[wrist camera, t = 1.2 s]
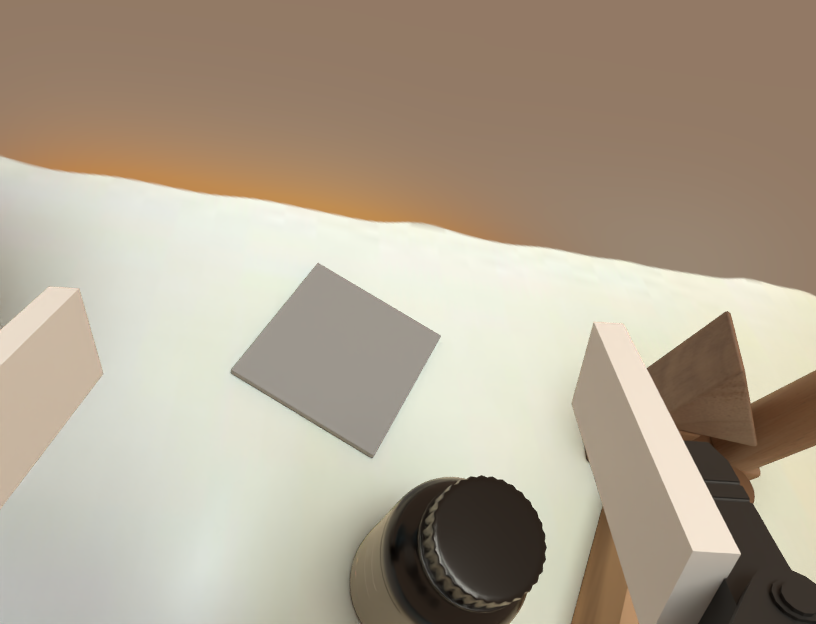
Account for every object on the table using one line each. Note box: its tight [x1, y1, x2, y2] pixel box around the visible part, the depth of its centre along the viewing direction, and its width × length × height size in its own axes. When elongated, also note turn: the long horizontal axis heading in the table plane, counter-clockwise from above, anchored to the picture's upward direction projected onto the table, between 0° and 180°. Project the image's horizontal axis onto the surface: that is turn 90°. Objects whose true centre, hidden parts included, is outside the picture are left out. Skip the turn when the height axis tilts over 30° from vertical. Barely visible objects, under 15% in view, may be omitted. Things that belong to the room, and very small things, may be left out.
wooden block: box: [587, 311, 816, 480], centre depth 34 cm, size 4×11×18 cm, turn 83°
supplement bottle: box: [350, 475, 547, 624], centre depth 27 cm, size 7×7×12 cm
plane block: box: [571, 466, 755, 624], centre depth 32 cm, size 6×12×8 cm, turn 153°
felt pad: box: [231, 263, 441, 458], centre depth 38 cm, size 10×10×1 cm
